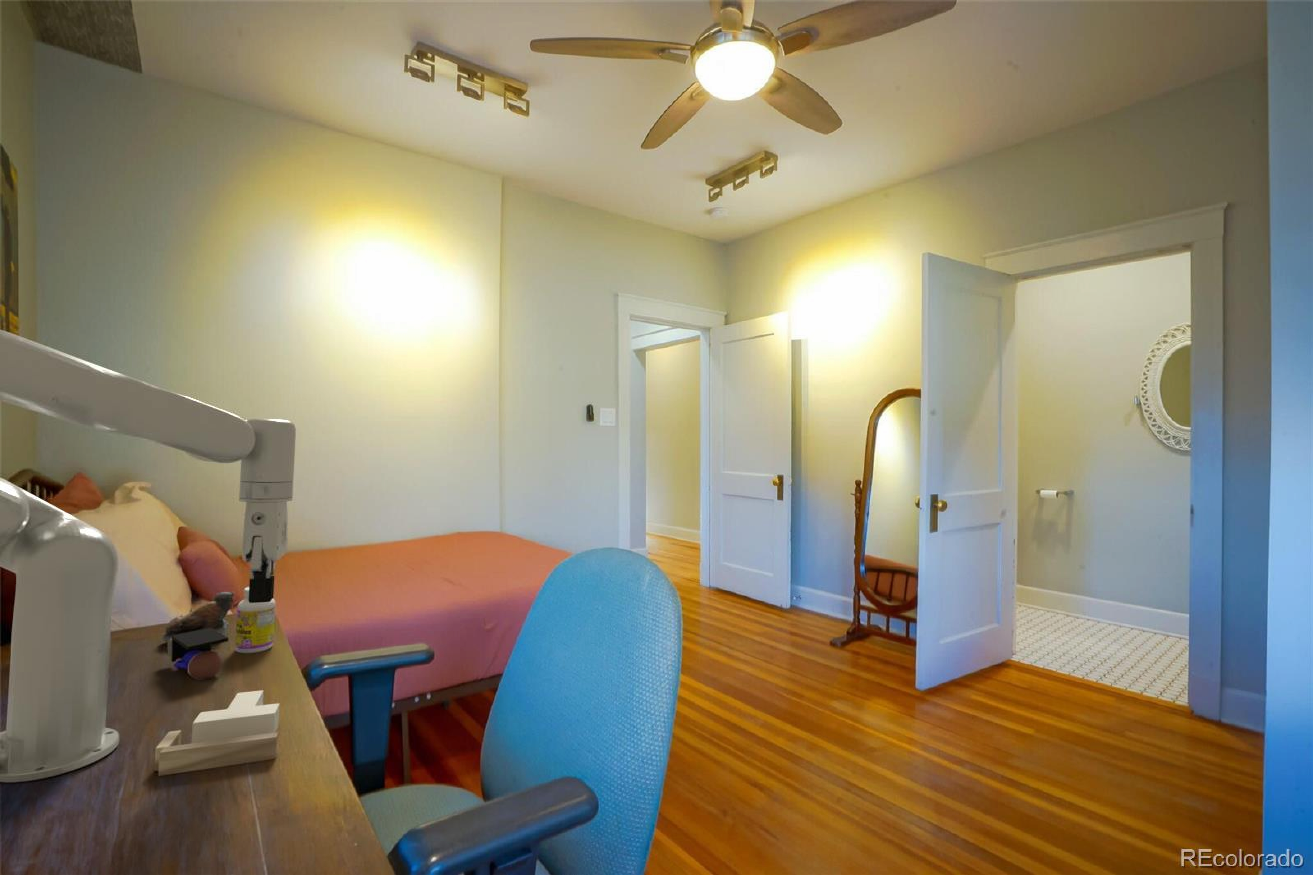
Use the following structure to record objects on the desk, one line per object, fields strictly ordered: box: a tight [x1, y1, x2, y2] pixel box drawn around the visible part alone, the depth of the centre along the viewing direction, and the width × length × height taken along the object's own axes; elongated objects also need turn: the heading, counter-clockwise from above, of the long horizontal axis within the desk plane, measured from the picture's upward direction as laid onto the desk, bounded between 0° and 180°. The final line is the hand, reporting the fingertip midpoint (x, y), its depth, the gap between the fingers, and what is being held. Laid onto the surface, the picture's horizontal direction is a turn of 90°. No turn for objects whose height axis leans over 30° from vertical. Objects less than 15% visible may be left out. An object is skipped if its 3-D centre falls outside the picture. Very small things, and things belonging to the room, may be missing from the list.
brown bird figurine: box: [161, 590, 235, 643], centre depth 127 cm, size 12×7×10 cm, turn 119°
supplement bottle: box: [234, 586, 276, 654], centre depth 123 cm, size 7×7×13 cm
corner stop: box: [153, 729, 280, 777], centre depth 81 cm, size 6×14×3 cm, turn 113°
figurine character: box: [167, 628, 229, 681], centre depth 110 cm, size 7×8×15 cm
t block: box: [191, 690, 281, 744], centre depth 90 cm, size 10×10×4 cm
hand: (261, 600), depth 98 cm, fingers closed
